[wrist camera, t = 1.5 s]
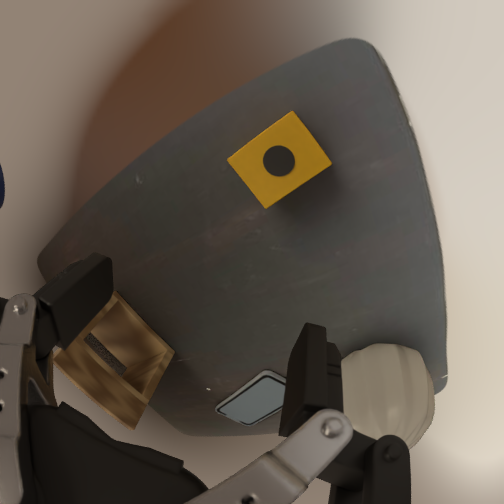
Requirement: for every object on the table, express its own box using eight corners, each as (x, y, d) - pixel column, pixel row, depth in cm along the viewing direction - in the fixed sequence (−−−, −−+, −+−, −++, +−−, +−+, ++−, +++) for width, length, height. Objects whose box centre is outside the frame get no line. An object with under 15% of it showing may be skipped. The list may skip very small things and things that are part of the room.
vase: (431, 323, 28) (466, 411, 16) (407, 391, 34) (420, 466, 22) (323, 331, 31) (323, 432, 19) (320, 398, 37) (315, 478, 25)
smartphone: (307, 393, 35) (249, 427, 42) (307, 388, 36) (250, 423, 43) (265, 371, 34) (212, 410, 41) (266, 367, 35) (214, 406, 42)
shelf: (84, 319, 39) (34, 376, 27) (115, 290, 34) (52, 359, 22) (134, 369, 42) (96, 431, 30) (175, 351, 37) (134, 430, 25)
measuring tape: (233, 157, 24) (221, 163, 21) (294, 112, 22) (292, 110, 18) (267, 200, 26) (261, 212, 22) (328, 158, 23) (332, 164, 20)
